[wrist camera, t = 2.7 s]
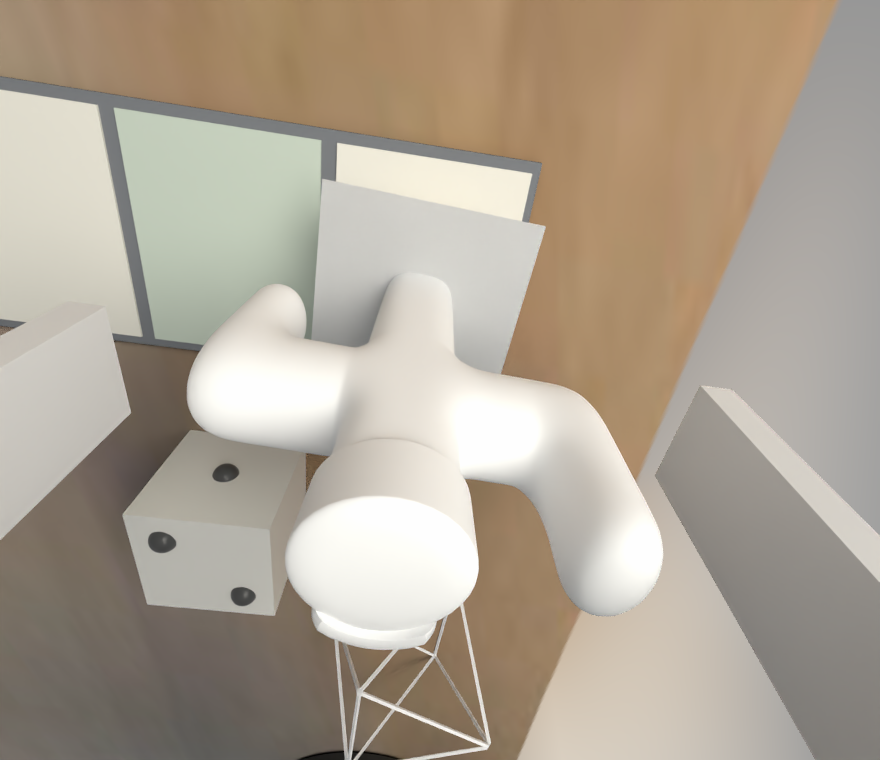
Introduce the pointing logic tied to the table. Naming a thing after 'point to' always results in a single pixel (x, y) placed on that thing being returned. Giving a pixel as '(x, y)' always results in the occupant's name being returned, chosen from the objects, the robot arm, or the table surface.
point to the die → (217, 525)
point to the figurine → (418, 421)
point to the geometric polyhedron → (396, 707)
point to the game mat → (192, 205)
